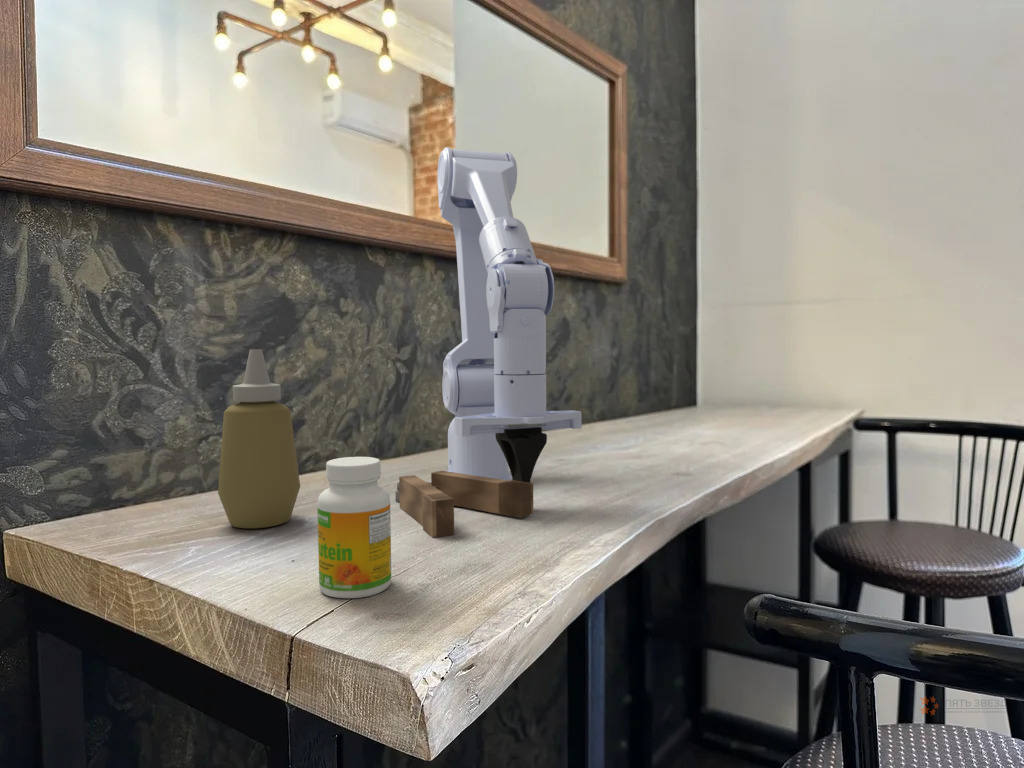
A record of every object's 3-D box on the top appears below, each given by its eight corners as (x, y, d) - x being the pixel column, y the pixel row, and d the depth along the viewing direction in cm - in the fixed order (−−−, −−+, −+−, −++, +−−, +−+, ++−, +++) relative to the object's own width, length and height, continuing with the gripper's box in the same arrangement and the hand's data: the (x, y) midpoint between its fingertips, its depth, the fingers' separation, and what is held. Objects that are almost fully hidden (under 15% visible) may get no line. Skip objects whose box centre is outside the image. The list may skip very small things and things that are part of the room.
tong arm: (391, 498, 80) (391, 471, 80) (417, 492, 83) (416, 465, 83) (509, 522, 69) (509, 490, 69) (533, 513, 73) (533, 483, 72)
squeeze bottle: (274, 535, 66) (269, 349, 65) (200, 531, 67) (194, 349, 66) (315, 514, 74) (311, 348, 73) (248, 511, 75) (243, 349, 74)
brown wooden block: (385, 498, 81) (385, 469, 81) (421, 495, 83) (420, 466, 82) (432, 537, 65) (431, 501, 65) (475, 531, 67) (474, 496, 66)
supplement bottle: (303, 592, 51) (300, 463, 50) (352, 571, 55) (349, 453, 55) (359, 605, 48) (357, 469, 47) (405, 581, 53) (403, 458, 52)
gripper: (472, 377, 68) (473, 511, 68) (596, 373, 74) (596, 497, 75) (448, 374, 74) (449, 497, 75) (563, 371, 80) (564, 485, 81)
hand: (521, 496), depth 75 cm, fingers closed
